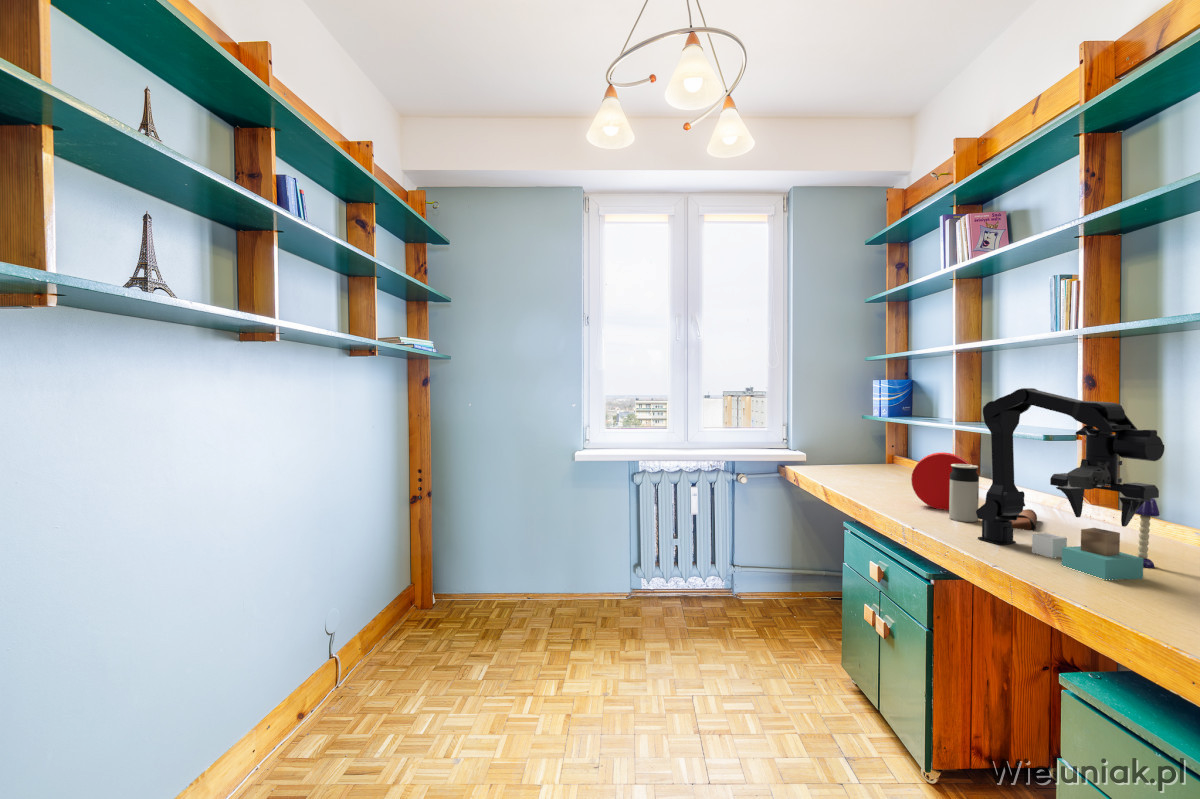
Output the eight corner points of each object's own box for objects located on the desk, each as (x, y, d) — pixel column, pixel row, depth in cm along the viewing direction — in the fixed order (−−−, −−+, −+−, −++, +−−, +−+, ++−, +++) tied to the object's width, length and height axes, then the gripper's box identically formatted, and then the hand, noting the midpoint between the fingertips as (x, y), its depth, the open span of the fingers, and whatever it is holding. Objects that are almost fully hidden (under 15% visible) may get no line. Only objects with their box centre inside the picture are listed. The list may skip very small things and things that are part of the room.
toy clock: (976, 510, 193) (977, 454, 192) (977, 513, 188) (978, 456, 188) (912, 503, 204) (912, 450, 204) (910, 506, 199) (911, 452, 199)
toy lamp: (1145, 562, 135) (1147, 496, 135) (1163, 568, 130) (1165, 499, 130) (1125, 562, 135) (1126, 495, 135) (1142, 568, 131) (1144, 499, 130)
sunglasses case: (1004, 516, 184) (1017, 500, 182) (1027, 529, 180) (1040, 514, 178) (1001, 526, 170) (1015, 510, 168) (1025, 541, 166) (1040, 524, 164)
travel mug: (946, 519, 179) (947, 465, 179) (952, 515, 185) (953, 463, 184) (974, 523, 173) (975, 467, 173) (980, 519, 179) (981, 465, 178)
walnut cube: (1080, 550, 130) (1081, 529, 129) (1093, 548, 131) (1094, 527, 131) (1106, 556, 125) (1106, 534, 125) (1119, 554, 127) (1119, 532, 126)
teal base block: (1061, 567, 132) (1062, 547, 132) (1097, 565, 134) (1097, 545, 133) (1104, 581, 122) (1105, 559, 122) (1142, 580, 124) (1143, 558, 124)
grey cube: (1031, 552, 143) (1032, 534, 143) (1045, 551, 144) (1046, 532, 144) (1052, 558, 138) (1053, 539, 138) (1066, 557, 140) (1066, 537, 140)
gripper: (1035, 452, 134) (1033, 515, 134) (1127, 462, 116) (1126, 534, 117) (1066, 450, 137) (1065, 512, 138) (1161, 460, 120) (1159, 530, 120)
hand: (1100, 521), depth 128 cm, fingers open, 9 cm apart
